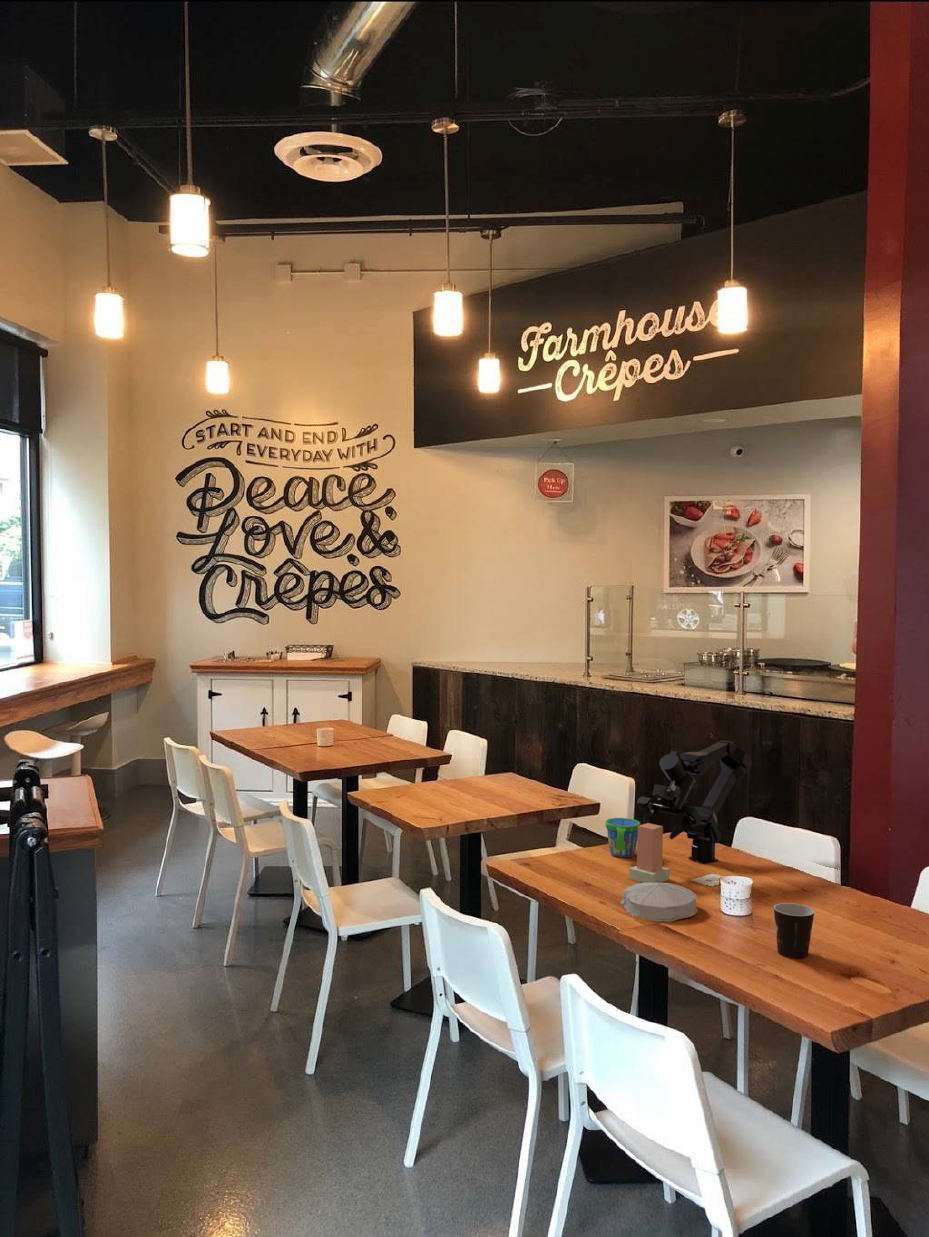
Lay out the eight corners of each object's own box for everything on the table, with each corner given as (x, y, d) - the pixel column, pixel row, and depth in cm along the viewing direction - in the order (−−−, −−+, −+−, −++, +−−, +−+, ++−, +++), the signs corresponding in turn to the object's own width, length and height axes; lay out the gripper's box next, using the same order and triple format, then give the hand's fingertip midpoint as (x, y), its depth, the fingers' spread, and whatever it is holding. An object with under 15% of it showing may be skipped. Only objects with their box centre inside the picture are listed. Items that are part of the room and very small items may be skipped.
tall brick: (647, 864, 273) (648, 822, 273) (662, 868, 269) (663, 826, 269) (636, 868, 269) (637, 825, 269) (651, 872, 266) (652, 829, 265)
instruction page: (712, 874, 275) (712, 873, 275) (733, 880, 270) (733, 879, 270) (690, 880, 269) (690, 879, 269) (711, 886, 263) (711, 885, 263)
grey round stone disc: (714, 919, 239) (715, 892, 239) (643, 926, 233) (643, 898, 233) (673, 895, 258) (674, 870, 258) (606, 901, 252) (606, 875, 252)
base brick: (645, 873, 275) (645, 862, 275) (669, 879, 269) (669, 868, 269) (629, 878, 270) (629, 868, 269) (653, 885, 264) (653, 874, 264)
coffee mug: (781, 943, 222) (782, 900, 222) (818, 952, 216) (819, 908, 216) (761, 957, 213) (762, 913, 213) (799, 968, 207) (801, 922, 207)
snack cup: (635, 863, 285) (635, 829, 284) (599, 859, 288) (600, 825, 288) (643, 850, 299) (644, 817, 299) (610, 846, 303) (610, 814, 303)
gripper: (640, 769, 281) (617, 813, 274) (696, 778, 268) (673, 825, 260) (655, 791, 287) (633, 835, 280) (711, 802, 274) (689, 848, 266)
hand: (656, 835), depth 271 cm, fingers open, 9 cm apart
